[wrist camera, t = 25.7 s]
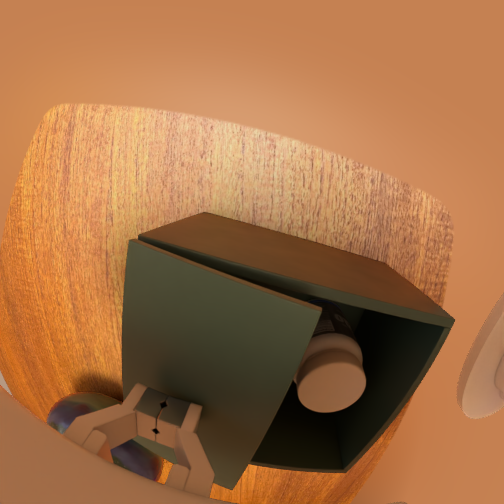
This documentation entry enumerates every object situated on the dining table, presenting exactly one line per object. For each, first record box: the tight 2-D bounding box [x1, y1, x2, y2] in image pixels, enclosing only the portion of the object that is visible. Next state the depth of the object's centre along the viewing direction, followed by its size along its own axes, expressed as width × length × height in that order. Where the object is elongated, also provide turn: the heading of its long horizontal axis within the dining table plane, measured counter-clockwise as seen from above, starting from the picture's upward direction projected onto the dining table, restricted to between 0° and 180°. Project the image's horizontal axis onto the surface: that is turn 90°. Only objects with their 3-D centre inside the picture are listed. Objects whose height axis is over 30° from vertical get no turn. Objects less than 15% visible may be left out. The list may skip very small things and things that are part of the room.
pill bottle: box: [293, 298, 366, 412], centre depth 17 cm, size 5×5×8 cm
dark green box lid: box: [122, 239, 322, 490], centre depth 10 cm, size 7×13×1 cm, turn 165°
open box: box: [138, 212, 455, 473], centre depth 17 cm, size 15×13×10 cm
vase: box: [47, 391, 164, 482], centre depth 21 cm, size 15×15×13 cm
